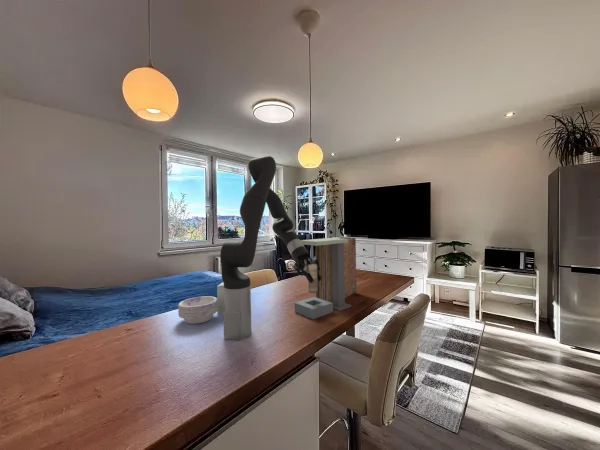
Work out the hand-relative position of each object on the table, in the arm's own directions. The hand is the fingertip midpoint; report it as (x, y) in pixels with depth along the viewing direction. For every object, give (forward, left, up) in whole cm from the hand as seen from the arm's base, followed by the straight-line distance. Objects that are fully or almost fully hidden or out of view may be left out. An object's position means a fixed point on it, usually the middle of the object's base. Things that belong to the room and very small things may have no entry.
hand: (316, 280), depth 108 cm
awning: (+5, -4, -14) cm, 15 cm away
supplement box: (-6, +39, -14) cm, 42 cm away
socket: (+1, +1, -14) cm, 14 cm away
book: (+24, -7, -14) cm, 28 cm away
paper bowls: (-17, +46, -14) cm, 52 cm away
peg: (+1, +2, -5) cm, 6 cm away
